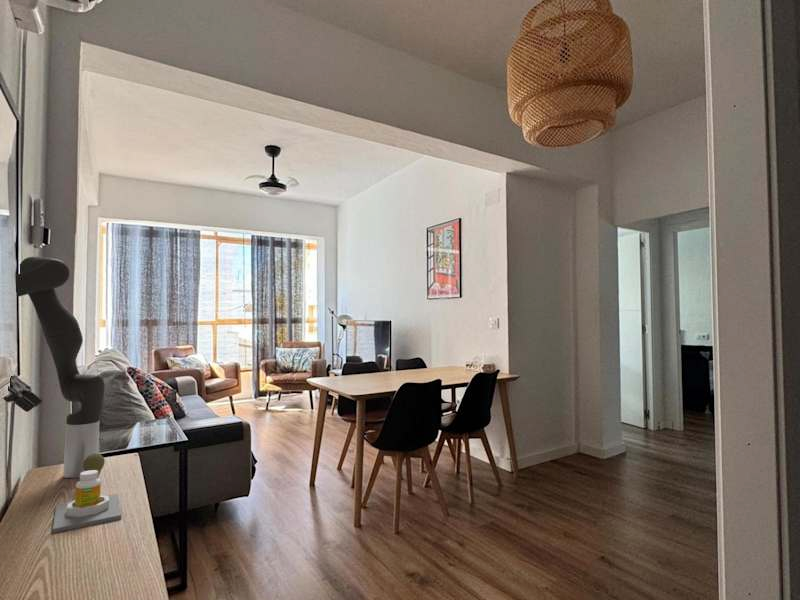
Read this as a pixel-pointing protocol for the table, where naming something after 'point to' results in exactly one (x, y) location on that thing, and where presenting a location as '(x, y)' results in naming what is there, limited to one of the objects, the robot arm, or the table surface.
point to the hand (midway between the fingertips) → (35, 406)
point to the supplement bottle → (88, 489)
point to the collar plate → (86, 513)
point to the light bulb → (94, 463)
